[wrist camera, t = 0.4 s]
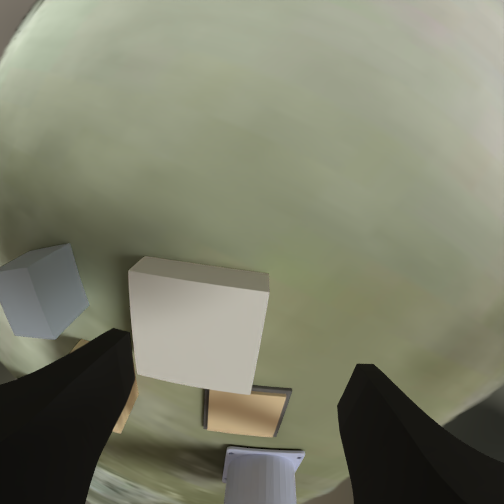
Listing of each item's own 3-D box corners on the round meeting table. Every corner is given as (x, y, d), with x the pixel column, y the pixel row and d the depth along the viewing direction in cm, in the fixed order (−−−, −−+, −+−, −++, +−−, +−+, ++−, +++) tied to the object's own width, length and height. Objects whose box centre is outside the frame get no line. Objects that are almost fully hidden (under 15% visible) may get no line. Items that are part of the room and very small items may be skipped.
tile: (276, 434, 23) (276, 439, 22) (204, 426, 23) (203, 431, 22) (291, 388, 21) (292, 394, 20) (206, 378, 21) (204, 384, 20)
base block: (252, 367, 21) (250, 395, 18) (150, 349, 21) (137, 374, 18) (268, 271, 18) (269, 292, 15) (147, 253, 18) (128, 270, 15)
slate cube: (90, 304, 19) (55, 339, 14) (48, 305, 20) (14, 335, 15) (70, 242, 18) (27, 267, 13) (30, 250, 18) (-10, 273, 13)
